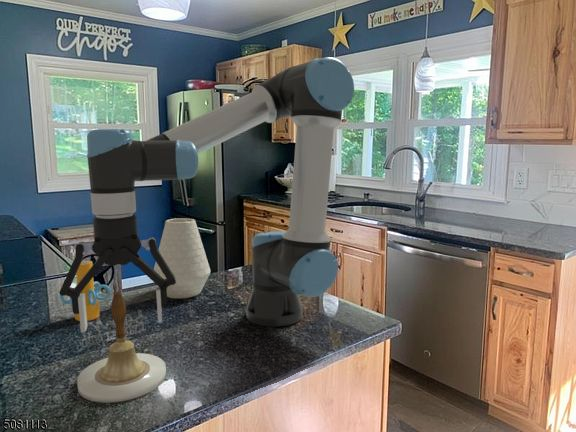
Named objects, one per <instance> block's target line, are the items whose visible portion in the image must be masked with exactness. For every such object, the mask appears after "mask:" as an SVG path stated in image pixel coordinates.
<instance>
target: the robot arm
mask: <svg viewBox="0 0 576 432" xmlns="http://www.w3.org/2000/svg"><path fill="white" fill-rule="evenodd" d="M354 95H355V83H354V78H353V75H352V74H351V71H350V70H348V68H347V66H346V65H345V64H344V63H343V62H342V60H339V59H337V58H334V57H332V56H331V57H329V56H326V57H321V58H320V57H317V58H315V59H312V60H310V61H307V62H303V63H301V64H297V65H294V66H293V65H292V66H291V67H287V68H286V69H284V70H282V71H280V72H279V73H277V74H275V75H274V76H272V77H271V78H268V79H266V80H265V81H263V82H261V83H259V84H257V85H254V86H253V88H252V89H251V92H250V93H248V94H245V95H244V96H241V97H239V98H236V99H235V100H233V101H232V100H231V101H230V102H228V103H225V104H223V105H221V106H218V107H217V108H215V109H213V110H209V112H206V113H204V114H201V115H199V116H198V117H195V118H192V119H190V120H188V121H187V122H184V123H182V124H180V125H177V126H175V127H173V128H171V129H169V130H166V131H164V132H162V133H160V134H158V135H156V136H153V137H151V138H148V139H147V140H134V138H133V136H132V133H131V131H130V130H128V129H124V128H123V129H118V128H116V129H114V128H99V129H97V128H96V129H92V130H90V131H89V132H88V134H87V136H86V142H87V145H86V146H87V154H86V158H87V167H88V176H89V177H88V178H89V187H90V203H91V204H90V205H91V213H92V215H94V216H95V217H93V219H92V225H93V226H92V227H93V237H94V238H93V239H94V240H93V243H85V242H84V241H79V242H78V243H77V244H76V246H75V255H74V258H73V262H72V263H71V265H70V267H69V270H68V272H67V275H66V276H65V279H64V281H63V283H62V285H61V288H60V290H59V291H58V292H59V296H60V295H61V296H63V297H64V296H67V297H69V298H70V297H71V299H72V306H71V308H72V313H73V315H75V314H79V316H80V321H79V326H80V333H86V332H87V329H88V321H87V314H86V303H85V293H83V294H80V293H81V291H82V290H83V289H84V288H85V286H86V285H87V284H88V283H89V281H90V280H91V279H92V278H93V279H94V277H95V275H97V272H98V271H99V270H100V269H101V268H102V266H103V265H107V266H109V267H114V266H117V265H120V266H125V265H128V264H130V263H132V264H133V265H134V266H135V267H137V268H138V269H139V270H140V271H141V272H143V274H144V275H146V277H148V278H149V279H150V281H152V282H153V283H154V284H155V285H156V287H155V292H156V294H155V296H156V307H157V308H156V310H157V323H158V324H161V323H163V314H162V313H163V311H162V306H163V305H167V303H168V297H167V287H168V286H170V285H174V284H175V283H176V280H175V276H174V275H173V273H172V271H171V270H170V268H169V267H168V265H167V263H166V262H165V260H164V259H163V257H162V255H161V254H160V252H159V248H158V247H157V241H156V238H155V237H154V236H151V237H149V238H146V239H142V240H141V239H140V237H139V230H138V219H137V218H138V217H137V215H136V214H135V213H136V212H137V202H136V201H137V200H136V187H135V182H145V181H172V180H174V181H175V180H176V181H177V180H178V181H181V180H186V179H193V178H194V177H195V176H196V175H197V173H198V170H199V169H198V168H199V155H200V154H201V153H203V152H205V151H207V150H209V149H212V148H214V147H216V146H218V145H220V144H222V143H224V142H226V141H229V139H232V138H234V137H236V136H239V135H240V134H242V133H245V132H246V131H248V130H251V129H253V128H255V127H256V126H258V125H261V124H263V123H268V124H272V123H274V122H276V121H278V120H280V119H283V118H288V117H290V120H291V121H292V122H293V123H294V125H295V126H296V135H295V146H294V158H293V159H294V160H293V171H292V187H291V196H290V197H291V199H290V209H289V210H290V211H289V221H288V222H289V224H288V229H287V230H286V231H285V230H283V231H279V230H278V231H266V232H261V233H260V232H259V233H257V234H256V233H255V235H254V236H253V238H252V244H251V245H252V246H251V250H252V255H251V256H252V290H251V294H250V296H249V299H248V303H247V306H246V312H245V313H246V319H247V320H248V322H251V323H252V324H255V325H258V326H264V327H276V328H277V327H284V326H285V327H286V326H290V325H294V324H296V323H298V322H300V321H301V320H302V319H303V305H302V303H301V300H300V296H304V297H306V298H315V297H316V298H317V297H320V296H322V295H323V294H325V293H326V292H327V291H328V289H329V288H331V287H332V286H333V285H334V283H335V281H336V279H337V276H338V272H339V263H338V258H336V257H335V254H334V253H333V252H331V241H332V240H331V237H330V236H329V235H328V234H327V232H326V226H327V225H326V224H327V214H328V213H327V212H328V204H329V203H328V201H329V188H330V179H331V178H330V177H331V166H332V164H331V163H332V156H333V142H334V130H335V129H336V127H337V126H339V125H340V124H342V116H343V115H342V114H343V110H345V109H346V108H347V107H349V104H351V103H352V101H353V97H354ZM142 247H143V248H145V250H146V251H148V252H149V251H150V254H151V256H152V258H153V259H154V261H155V263H156V262H157V264H158V266H159V267H160V269H161V270H162V272H163V274H164V275H165V277H166V279H163V278H162V277H161V276H160V275H159V274H158V273H157V272H156V271H155V270H154V268H153V267H152V266H150V265H149V263H147V262H146V261H145V260H144V259H143V258H142V256H140V255H139V253H138V252H139V251H140V250H141V248H142ZM90 251H92V252H93V253H94V254H95V255H96V256H97V257H98V258H96V261H95V262H94V263H92V264H93V266H92V267H91V268H90V269H89V271H88V272H87V273H86V274H85V276H84V277H83V278H82V279H81V281H80V282H79V283H78V284H77V283H76V286H74V287H71V286H72V284H73V281H74V279H75V278H76V273H77V271H78V269H79V266H80V264H81V262H82V261H84V258H85V257H84V256H87V255H88V254H89V252H90ZM299 295H300V296H299Z"/></svg>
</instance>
